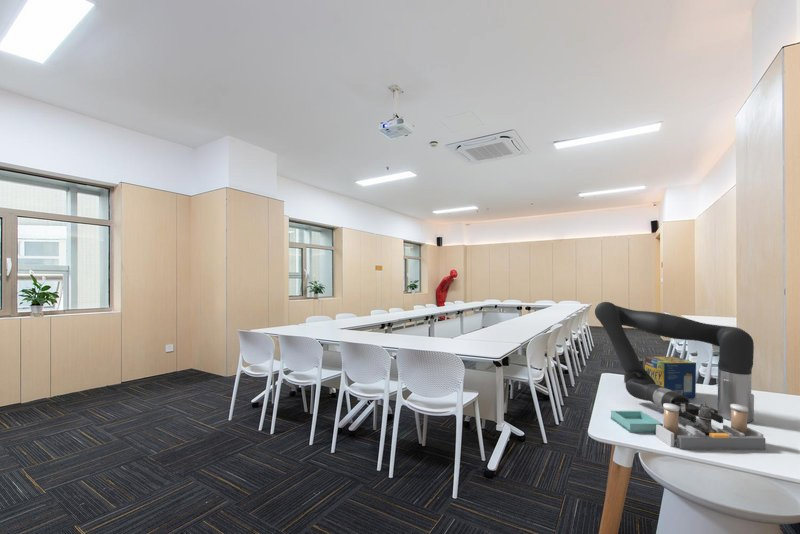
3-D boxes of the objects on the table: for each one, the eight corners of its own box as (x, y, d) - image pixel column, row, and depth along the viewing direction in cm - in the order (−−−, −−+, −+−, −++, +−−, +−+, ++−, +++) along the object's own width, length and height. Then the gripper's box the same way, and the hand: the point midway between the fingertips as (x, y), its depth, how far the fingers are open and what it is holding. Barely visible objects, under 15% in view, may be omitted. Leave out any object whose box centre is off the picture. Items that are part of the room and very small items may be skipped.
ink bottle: (640, 381, 178) (641, 357, 178) (651, 387, 169) (651, 361, 169) (619, 381, 179) (620, 356, 179) (629, 387, 170) (629, 361, 170)
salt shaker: (718, 446, 114) (719, 407, 114) (694, 441, 117) (695, 403, 117) (714, 438, 119) (715, 401, 119) (691, 434, 122) (692, 398, 122)
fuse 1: (672, 436, 120) (672, 403, 120) (682, 443, 116) (682, 408, 116) (659, 436, 120) (660, 403, 120) (669, 442, 116) (669, 408, 116)
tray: (640, 419, 134) (640, 410, 134) (662, 432, 123) (662, 423, 123) (610, 418, 134) (610, 410, 134) (629, 432, 123) (630, 423, 123)
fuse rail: (732, 432, 124) (732, 419, 124) (768, 449, 112) (768, 435, 112) (647, 431, 124) (647, 418, 124) (674, 449, 112) (674, 435, 112)
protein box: (644, 391, 164) (644, 356, 164) (675, 390, 166) (675, 356, 166) (663, 399, 154) (663, 362, 154) (696, 398, 156) (697, 362, 156)
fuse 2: (739, 437, 120) (739, 403, 120) (751, 443, 116) (752, 408, 116) (726, 437, 120) (726, 403, 120) (738, 443, 116) (738, 408, 116)
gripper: (651, 390, 132) (686, 408, 116) (690, 391, 133) (731, 408, 116) (651, 411, 132) (686, 431, 116) (690, 411, 133) (731, 432, 116)
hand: (708, 420), depth 116 cm, fingers open, 8 cm apart
